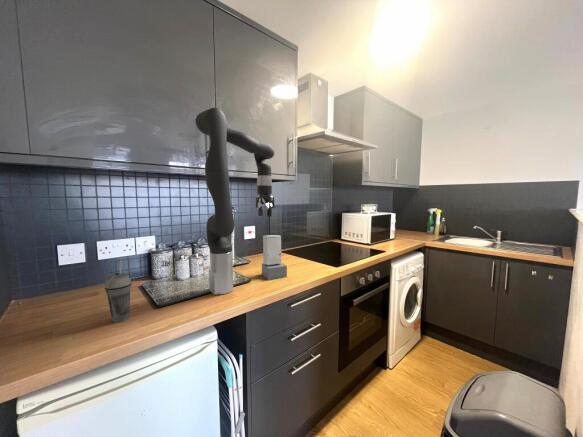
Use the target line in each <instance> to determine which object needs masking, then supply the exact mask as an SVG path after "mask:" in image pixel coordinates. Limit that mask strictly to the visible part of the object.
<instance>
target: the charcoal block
mask: <svg viewBox="0 0 583 437" xmlns="http://www.w3.org/2000/svg"><path fill="white" fill-rule="evenodd" d="M287 266H288V265H286V264H284V263H283V262H281V264H273V265H266V264H264V263H263V262H262V263H261V275H262V276H263V277H264V278H266V279H267V280H268V281H271V280H275V279H276V280H277V279H281V278H287V277H288V274H287V273H288V267H287Z"/></svg>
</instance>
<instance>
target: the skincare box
mask: <svg viewBox="0 0 583 437" xmlns="http://www.w3.org/2000/svg"><path fill="white" fill-rule="evenodd" d="M262 246H263V247H262V252H263V253H262V258H263V261H262V263H264V264H266V265H273V264H281V263H282V236H281V235H271V234H270V235H269V234H267V235H262Z"/></svg>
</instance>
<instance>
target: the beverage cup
mask: <svg viewBox="0 0 583 437" xmlns="http://www.w3.org/2000/svg"><path fill="white" fill-rule="evenodd" d="M122 265H123V259H120V261H119V271H118V272H117V273H114V274H112V275H110V276H109V277H108V278H107V279H106V282H105V285H104V290H105V293H106V296H107V301H108V306H109V311H110V312H109V313H110V317H111V320H112V322H113V323H122V322H124V321H127V320H129V318H130V308H131V307H130V305H131V289H132V284H133V283H132V280H131V278H130V276H129V275H128V274H126V273H123V272H122V269H123V268H122V267H123V266H122Z"/></svg>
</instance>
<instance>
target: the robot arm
mask: <svg viewBox="0 0 583 437" xmlns="http://www.w3.org/2000/svg"><path fill="white" fill-rule="evenodd" d="M195 125H196V127H197V129H198V131H200V132H201V133H202V134H204V135H205V136H209V148H208V153H207V154H206V155H207V156H206V160H205V164H204V174H205V175H204V176H205V182H206V186H207V190H208V192H209V194H210V197H211V198H212V201H213V206H214V214H212V215H210V217H208V219H207V220H206V241H207V246H208V248H209V264H210V266H209V269H208V281H209V284H208V285H209V292H210V291H211V292H210V293H212V294H213V295H214V296H216V295H225V294H228V293H229V294H230V293H232V292H233V291H234V269H233V268H234V266H233V265H234V264H233V263H234V262H233V245H232V243H231V242H230V241H229V239H228V237H230V236H231V235H232V234H233V233H234V230H235V226H236V225H235V224H236V223H235V217H234V213H233V207H232V200H231V190H230V188H231V187H230V175H229V165H228V164H229V163H228V150H227V149H228V148H227V146H228V145H227V144H228V143H229V144H232V145H233V146H236V147H237V148H239V149H242V150H243V151H246V153H249V154H253V157H254V161H255V165H256V167H257V168H256V169H257V170H256V171H257V180H256V183H257V184H256V187H257V188H256V190H257V191H256V192H257V193H256V194H257V195H259V196H255V208H257V210H258V216H259V217H263V216H264V215H263V213H264V211H263V208H264V207H266V217H267V218H271V217H272V216H273V214H272V213H273V212H272V210H273V209H275V207H276V206H275V196H274V195H273V196H272V194H273V185H272V184H273V182H272V181H273V180H272V166H271V165H270V164H268V163H267V162H266V160H270V159H272V158H274V156H275V150H274V148H273V146H272V145H270V144H269V143H266V142H265V141H261V140H258V139H256V138H254V137H253V136H251V135H249V134H247V133H245V132H243V131H240V130H235V129H233V128H229V127H227V126H228V123H227V117H226V115H225V114H224V112H223V111H222V109H220V108H219V107H210V108H208V109H205V110H204V111H200V112H199V113H198V114H197V115H196V117H195Z"/></svg>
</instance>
